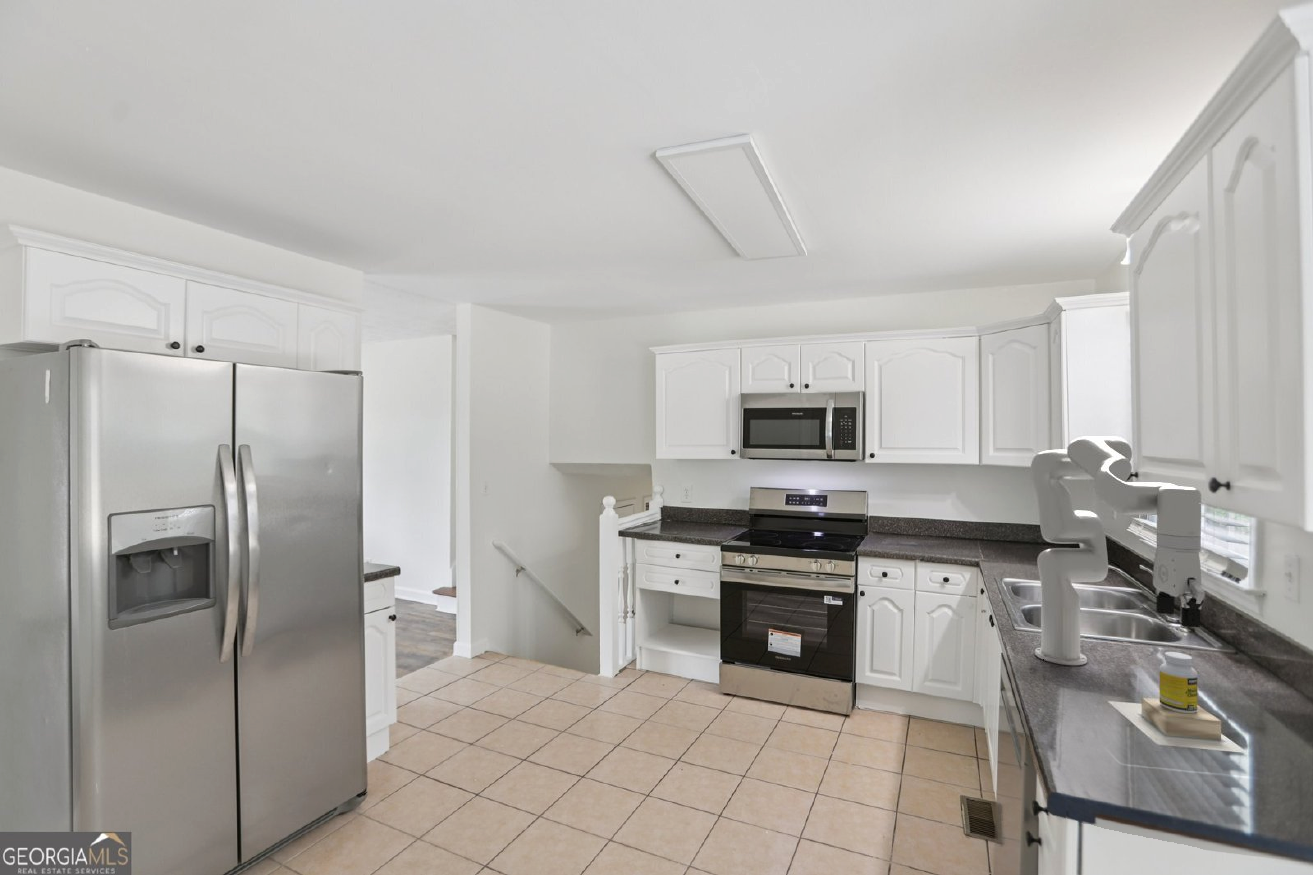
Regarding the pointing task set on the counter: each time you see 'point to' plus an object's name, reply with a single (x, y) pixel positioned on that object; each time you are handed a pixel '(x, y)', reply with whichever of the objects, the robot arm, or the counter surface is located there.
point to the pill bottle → (1178, 683)
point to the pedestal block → (1181, 721)
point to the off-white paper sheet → (1135, 716)
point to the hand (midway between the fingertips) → (1177, 619)
